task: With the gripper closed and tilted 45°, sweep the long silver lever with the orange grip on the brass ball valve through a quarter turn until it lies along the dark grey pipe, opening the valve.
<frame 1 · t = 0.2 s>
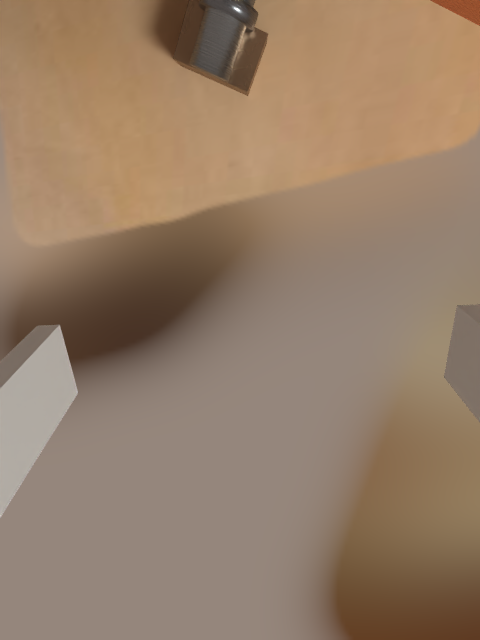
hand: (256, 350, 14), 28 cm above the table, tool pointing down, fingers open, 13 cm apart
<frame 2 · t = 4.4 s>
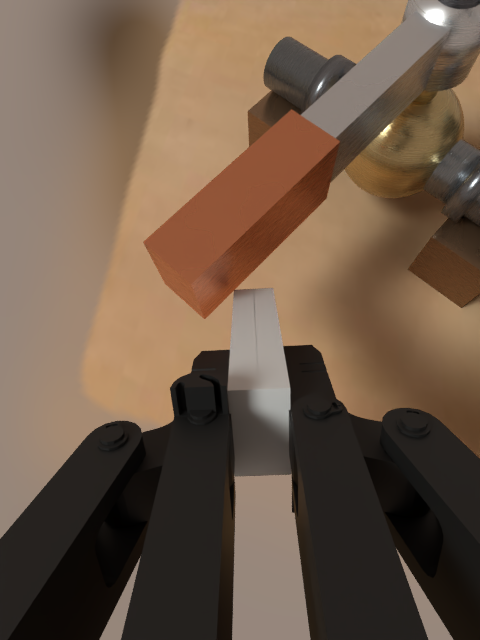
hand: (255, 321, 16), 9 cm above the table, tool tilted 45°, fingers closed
valve lever: (339, 124, 16), point 12 cm above the table, hinge at 0.0°, touching gripper
valve stand: (373, 197, 29), on the table
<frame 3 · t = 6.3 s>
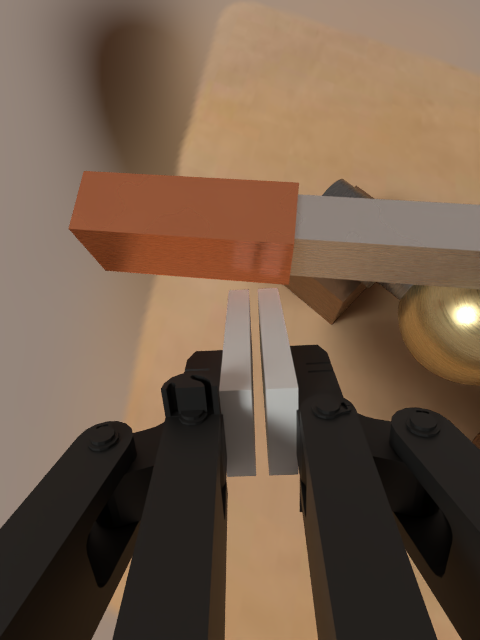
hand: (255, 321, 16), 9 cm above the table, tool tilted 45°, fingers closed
valve lever: (344, 236, 14), point 12 cm above the table, hinge at 52.4°, touching gripper
valve stand: (429, 343, 25), on the table
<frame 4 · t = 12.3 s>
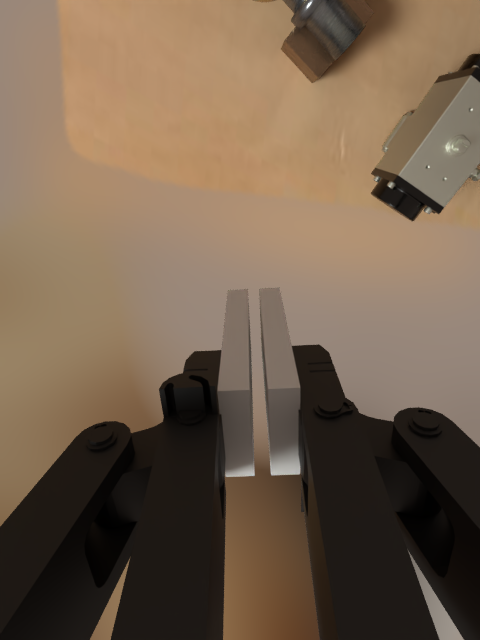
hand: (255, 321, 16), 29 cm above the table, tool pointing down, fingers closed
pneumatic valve: (407, 142, 40), on the table
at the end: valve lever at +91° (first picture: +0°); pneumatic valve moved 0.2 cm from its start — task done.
